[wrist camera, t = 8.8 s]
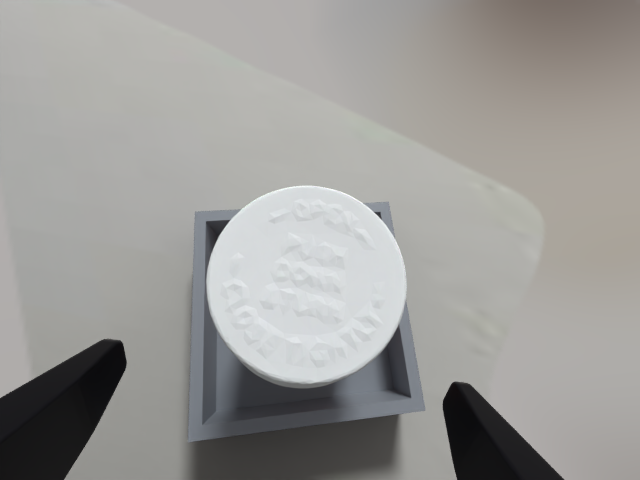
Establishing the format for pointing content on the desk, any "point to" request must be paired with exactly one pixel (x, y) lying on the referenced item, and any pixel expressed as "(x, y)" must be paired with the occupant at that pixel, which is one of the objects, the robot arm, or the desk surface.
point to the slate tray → (274, 400)
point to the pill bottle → (306, 286)
